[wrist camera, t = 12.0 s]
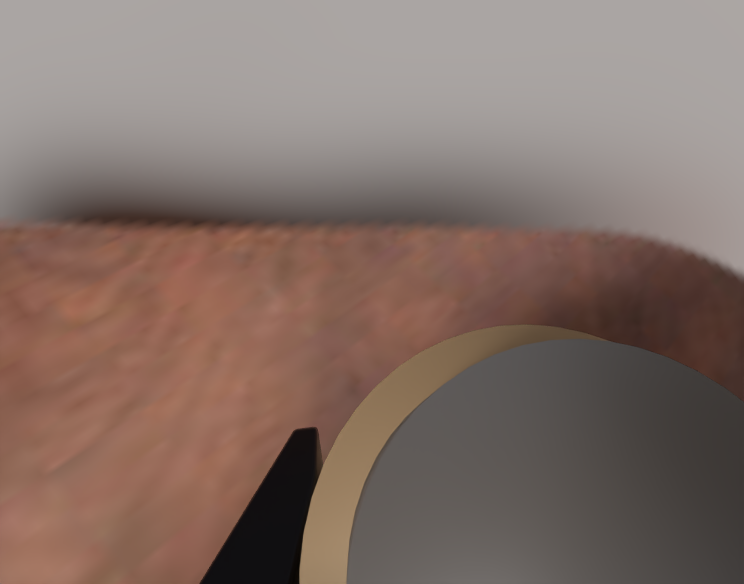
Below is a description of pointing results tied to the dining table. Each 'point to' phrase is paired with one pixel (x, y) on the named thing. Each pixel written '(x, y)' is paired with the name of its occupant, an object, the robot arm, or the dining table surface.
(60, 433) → the dining table surface
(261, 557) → the robot arm
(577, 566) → the marker peg
